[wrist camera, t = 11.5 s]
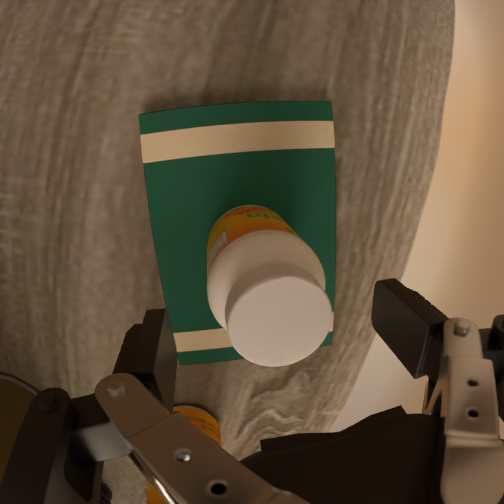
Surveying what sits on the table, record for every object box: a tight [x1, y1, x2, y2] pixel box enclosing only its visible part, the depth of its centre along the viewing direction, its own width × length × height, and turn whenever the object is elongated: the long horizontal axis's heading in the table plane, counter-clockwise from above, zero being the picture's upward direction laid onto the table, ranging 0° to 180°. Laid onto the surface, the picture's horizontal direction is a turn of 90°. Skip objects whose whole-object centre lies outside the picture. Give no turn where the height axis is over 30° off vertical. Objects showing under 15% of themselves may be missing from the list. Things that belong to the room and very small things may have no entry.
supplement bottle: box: [207, 205, 332, 367], centre depth 16 cm, size 5×5×10 cm
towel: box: [139, 101, 336, 365], centre depth 21 cm, size 18×12×1 cm, turn 4°
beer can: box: [147, 406, 221, 504], centre depth 19 cm, size 6×6×15 cm
